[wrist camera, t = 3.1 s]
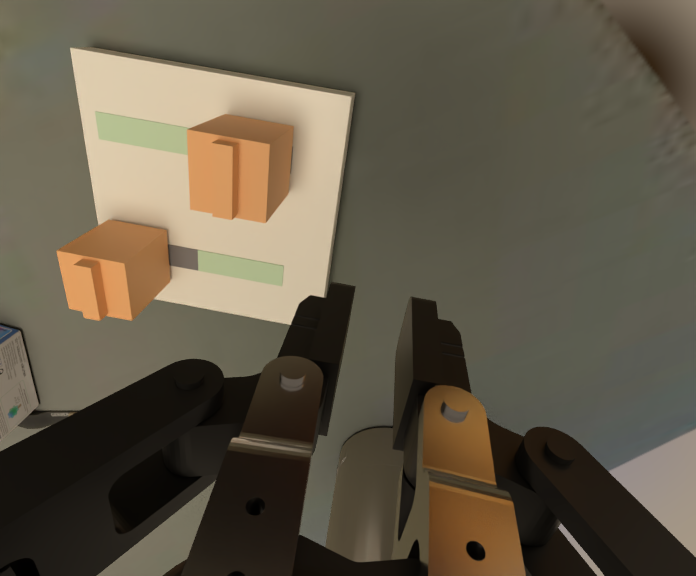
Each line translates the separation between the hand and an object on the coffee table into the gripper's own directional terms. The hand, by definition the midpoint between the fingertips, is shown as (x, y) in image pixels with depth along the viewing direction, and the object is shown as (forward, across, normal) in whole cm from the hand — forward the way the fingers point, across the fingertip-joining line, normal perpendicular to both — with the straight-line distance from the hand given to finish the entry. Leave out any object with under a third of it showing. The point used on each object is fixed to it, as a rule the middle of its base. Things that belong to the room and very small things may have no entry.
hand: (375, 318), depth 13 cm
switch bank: (+17, +11, +4) cm, 21 cm away
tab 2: (+15, +8, 0) cm, 17 cm away
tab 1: (+15, +16, +8) cm, 23 cm away
